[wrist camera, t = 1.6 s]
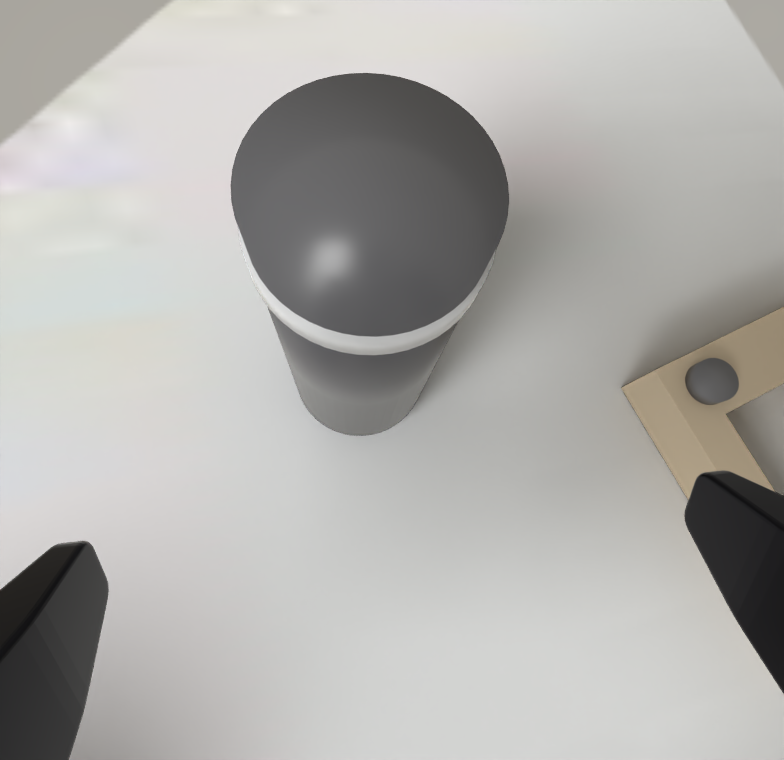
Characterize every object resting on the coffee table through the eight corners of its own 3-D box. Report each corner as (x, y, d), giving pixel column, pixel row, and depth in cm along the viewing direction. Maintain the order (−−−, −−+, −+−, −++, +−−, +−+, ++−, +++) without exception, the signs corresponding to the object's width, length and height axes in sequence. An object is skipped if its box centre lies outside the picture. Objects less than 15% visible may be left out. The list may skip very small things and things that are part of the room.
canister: (446, 404, 21) (565, 252, 9) (326, 460, 20) (295, 367, 8) (390, 294, 22) (435, 37, 11) (273, 342, 21) (181, 118, 10)
